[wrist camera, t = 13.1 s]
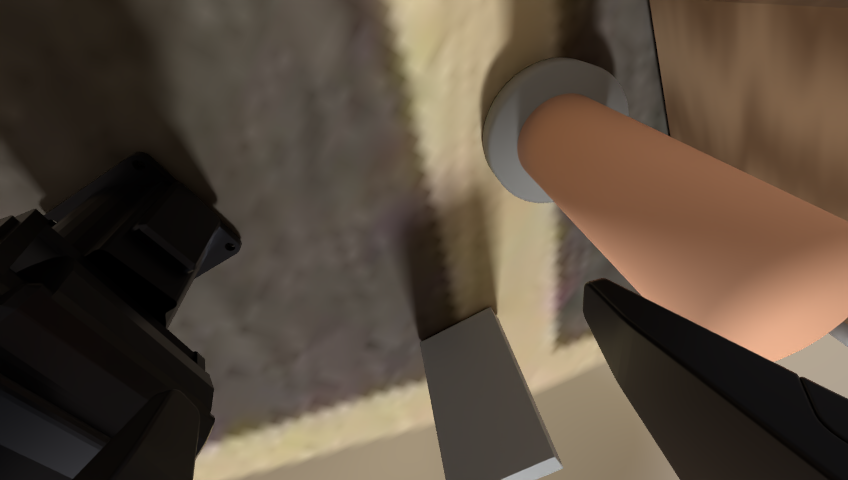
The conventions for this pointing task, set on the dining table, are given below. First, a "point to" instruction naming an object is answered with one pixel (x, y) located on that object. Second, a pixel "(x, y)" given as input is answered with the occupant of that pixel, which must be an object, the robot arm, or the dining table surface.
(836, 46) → the door
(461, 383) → the door frame
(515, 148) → the door stop
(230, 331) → the dining table surface
